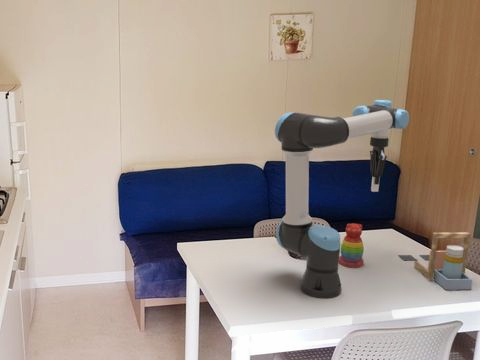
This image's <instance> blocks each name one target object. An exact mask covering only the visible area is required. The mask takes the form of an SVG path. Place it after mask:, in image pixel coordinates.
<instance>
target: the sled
mask: <svg viewBox="0 0 480 360" xmlns="http://www.w3.org/2000/svg"><path fill="white" fill-rule="evenodd" d="M429 255H430V257H431V250H430V251H429ZM445 255H446V250H436V258H435V266H434V275H433V281H435V282H436V283H437V284H438V285H440V286H441V287H442V288H443V289H445V290H447V291H449V290H471V289H472V284H473V283H472V282H473V279H472V278H471V277H470V276H468V275H467V274H466V273H465V274H464V273H463V272H462V275H461V279H447V278H446V277H444V276H443V275H442V270H443V262H444V257H445ZM430 257H429V260H428V267H427V269H428V270H429V265H430Z"/></svg>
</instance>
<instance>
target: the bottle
mask: <svg viewBox="0 0 480 360" xmlns="http://www.w3.org/2000/svg"><path fill="white" fill-rule="evenodd" d="M445 251H446V255H445V257H444V262H443V270H442V275H443V276H444V277H446V278H447V279H461V275H462V267H463V251H464V249H463V246H459V245H458V244H457V245H455V244H448V245H446V249H445Z"/></svg>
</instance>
